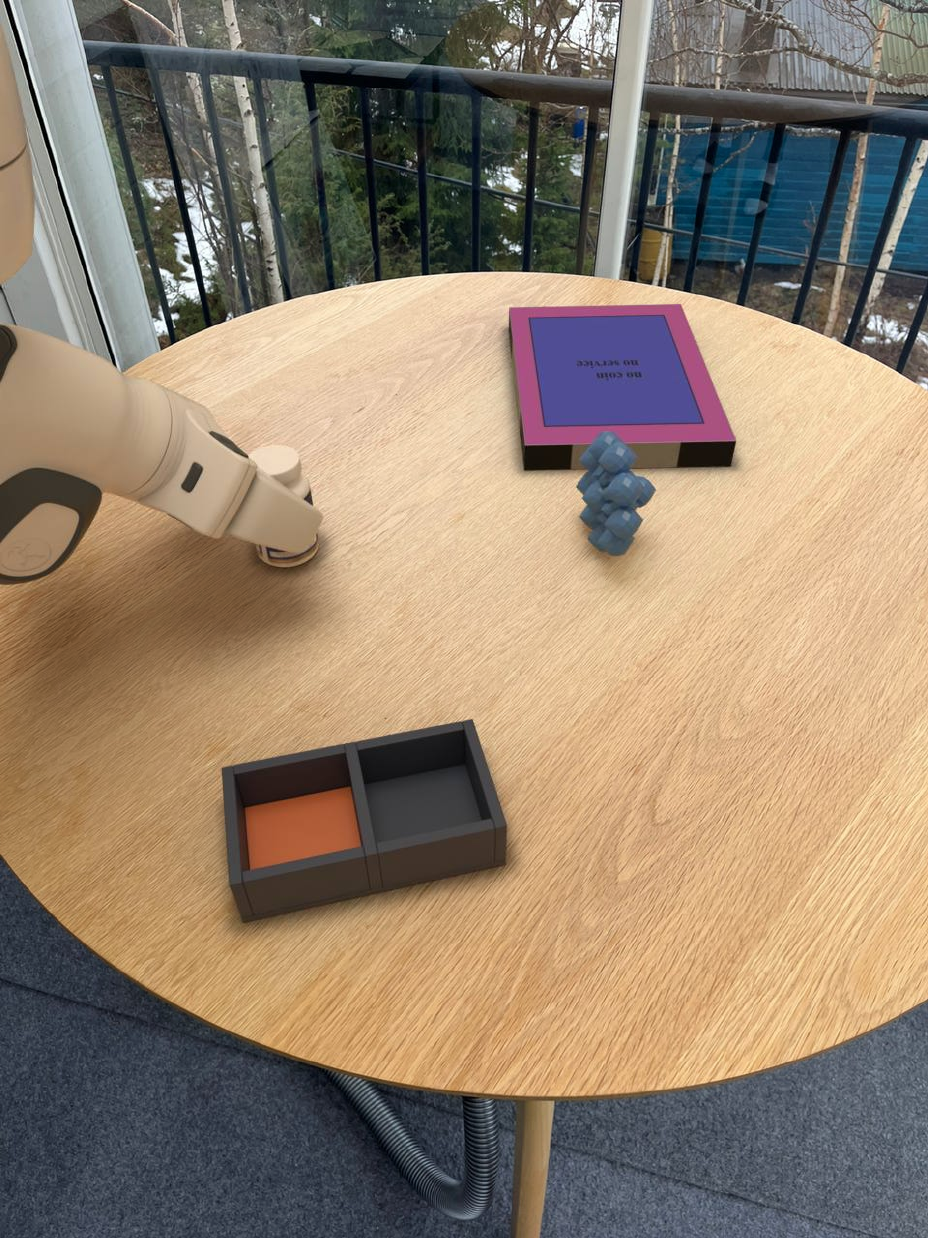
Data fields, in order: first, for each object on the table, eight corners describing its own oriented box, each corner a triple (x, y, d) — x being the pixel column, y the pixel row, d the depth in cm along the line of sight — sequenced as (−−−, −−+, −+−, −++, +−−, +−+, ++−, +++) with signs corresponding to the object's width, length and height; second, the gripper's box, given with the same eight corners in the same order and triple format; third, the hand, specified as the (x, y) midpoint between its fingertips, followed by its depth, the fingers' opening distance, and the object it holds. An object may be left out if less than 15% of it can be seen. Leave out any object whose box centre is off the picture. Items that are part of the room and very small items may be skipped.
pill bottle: (332, 542, 87) (319, 451, 80) (293, 577, 84) (277, 486, 77) (283, 523, 89) (267, 433, 82) (244, 557, 86) (223, 466, 79)
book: (680, 303, 115) (736, 440, 93) (677, 326, 117) (730, 466, 95) (509, 307, 115) (524, 445, 93) (508, 330, 117) (523, 470, 95)
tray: (242, 923, 60) (229, 885, 57) (233, 806, 66) (221, 767, 63) (505, 864, 63) (507, 825, 59) (473, 758, 69) (472, 718, 66)
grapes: (668, 583, 83) (690, 470, 74) (594, 593, 82) (607, 480, 73) (629, 504, 91) (644, 394, 82) (561, 512, 90) (569, 402, 82)
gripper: (79, 432, 77) (205, 480, 89) (215, 546, 67) (339, 584, 78) (113, 364, 76) (236, 422, 88) (257, 468, 66) (376, 518, 77)
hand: (286, 499), depth 83 cm, fingers closed on pill bottle, 6 cm apart
